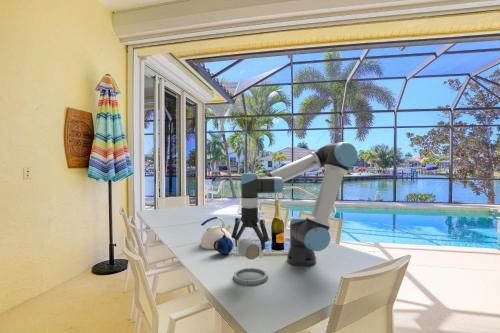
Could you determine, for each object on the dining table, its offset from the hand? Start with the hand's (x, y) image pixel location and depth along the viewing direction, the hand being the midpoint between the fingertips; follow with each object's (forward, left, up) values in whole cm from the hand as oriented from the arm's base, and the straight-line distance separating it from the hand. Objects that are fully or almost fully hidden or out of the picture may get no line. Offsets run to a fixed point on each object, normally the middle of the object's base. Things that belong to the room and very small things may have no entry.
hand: (249, 255), depth 127 cm
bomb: (+28, -24, -11) cm, 38 cm away
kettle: (+42, -39, -11) cm, 58 cm away
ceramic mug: (-1, -1, -1) cm, 1 cm away
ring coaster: (0, 0, -10) cm, 10 cm away
